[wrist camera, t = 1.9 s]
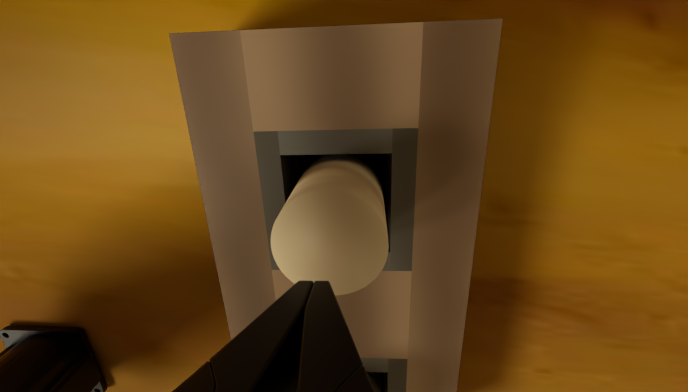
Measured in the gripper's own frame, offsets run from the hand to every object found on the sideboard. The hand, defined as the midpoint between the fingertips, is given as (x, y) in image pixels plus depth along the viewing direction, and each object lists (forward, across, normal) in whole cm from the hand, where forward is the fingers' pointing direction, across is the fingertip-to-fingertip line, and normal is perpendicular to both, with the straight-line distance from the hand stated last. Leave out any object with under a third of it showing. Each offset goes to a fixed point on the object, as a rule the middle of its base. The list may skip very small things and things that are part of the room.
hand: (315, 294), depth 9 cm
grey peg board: (+11, 0, +6) cm, 12 cm away
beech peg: (+7, 0, 0) cm, 7 cm away
